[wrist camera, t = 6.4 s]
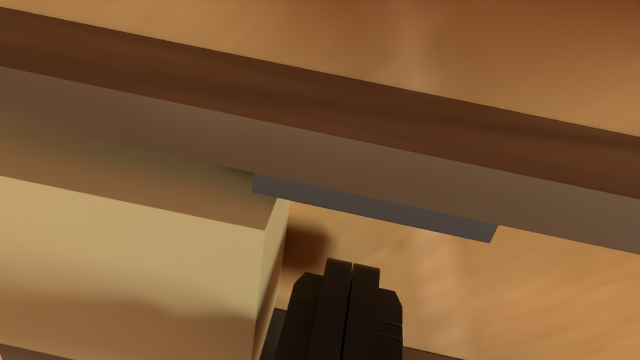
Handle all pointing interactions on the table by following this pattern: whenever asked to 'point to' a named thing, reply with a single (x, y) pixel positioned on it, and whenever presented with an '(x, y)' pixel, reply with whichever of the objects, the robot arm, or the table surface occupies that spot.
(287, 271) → the table surface
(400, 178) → the chute
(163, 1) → the table surface
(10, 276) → the block
